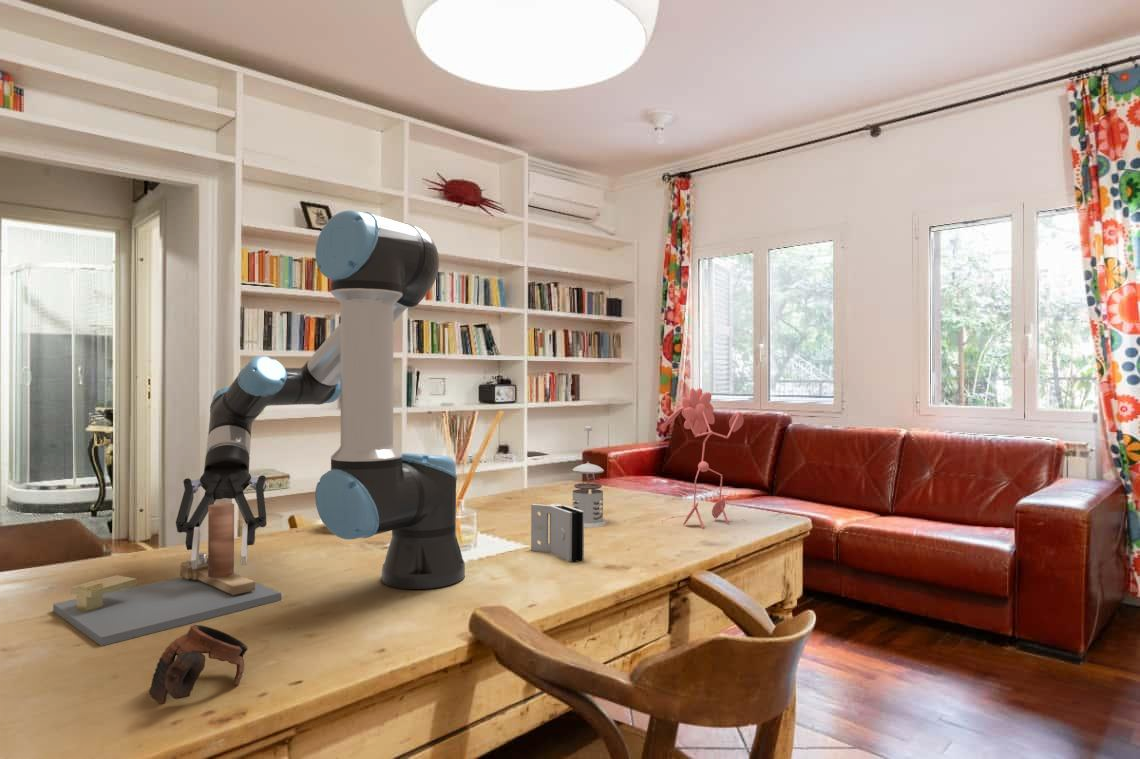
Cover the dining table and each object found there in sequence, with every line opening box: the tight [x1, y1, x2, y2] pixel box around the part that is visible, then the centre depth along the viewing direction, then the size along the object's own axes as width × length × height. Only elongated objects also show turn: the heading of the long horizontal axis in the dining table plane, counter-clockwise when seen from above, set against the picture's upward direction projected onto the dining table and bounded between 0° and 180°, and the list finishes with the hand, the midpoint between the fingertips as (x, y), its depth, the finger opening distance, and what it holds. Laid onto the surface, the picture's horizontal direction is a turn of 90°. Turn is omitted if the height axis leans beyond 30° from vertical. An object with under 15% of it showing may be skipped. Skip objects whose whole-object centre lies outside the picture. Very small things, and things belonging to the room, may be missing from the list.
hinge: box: [530, 503, 585, 563], centre depth 147 cm, size 14×5×10 cm, turn 43°
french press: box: [571, 425, 608, 528], centre depth 179 cm, size 10×12×25 cm
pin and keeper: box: [70, 552, 208, 612], centre depth 116 cm, size 5×21×4 cm, turn 156°
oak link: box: [179, 502, 256, 595], centre depth 120 cm, size 19×6×13 cm, turn 51°
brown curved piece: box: [148, 624, 249, 705], centre depth 82 cm, size 12×10×8 cm
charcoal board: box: [52, 576, 282, 647], centre depth 113 cm, size 22×26×1 cm
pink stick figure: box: [660, 387, 747, 529], centre depth 181 cm, size 15×26×35 cm, turn 126°
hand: (219, 562), depth 116 cm, fingers open, 7 cm apart
